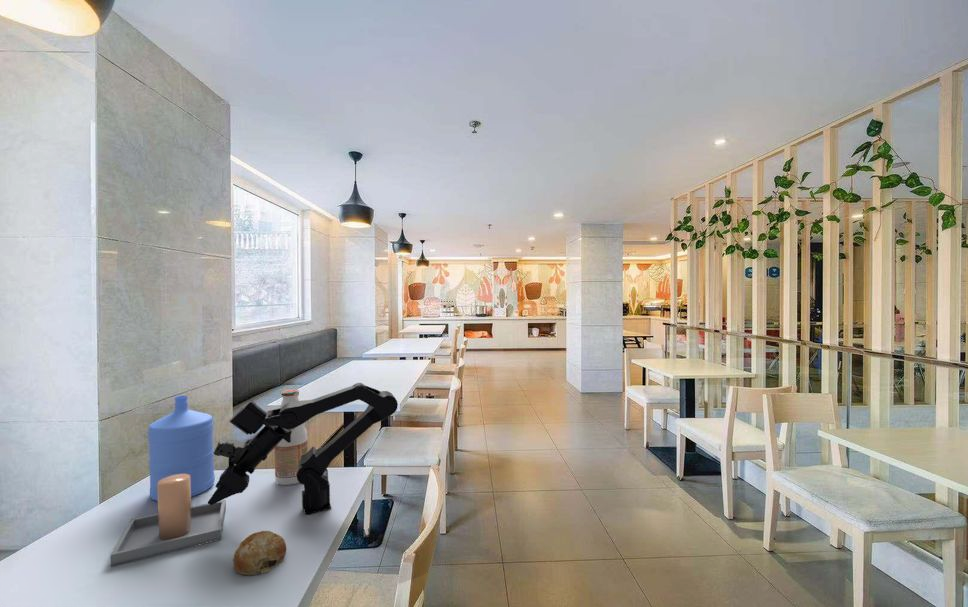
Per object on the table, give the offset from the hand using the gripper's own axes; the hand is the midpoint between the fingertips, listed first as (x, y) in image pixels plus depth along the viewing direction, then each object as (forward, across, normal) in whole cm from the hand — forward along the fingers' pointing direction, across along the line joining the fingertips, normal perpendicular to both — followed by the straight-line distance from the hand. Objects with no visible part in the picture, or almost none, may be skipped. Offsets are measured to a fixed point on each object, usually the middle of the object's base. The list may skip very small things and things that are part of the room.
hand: (213, 495), depth 104 cm
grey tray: (+11, 0, 0) cm, 11 cm away
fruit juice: (-6, -21, +18) cm, 29 cm away
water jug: (+15, -27, -3) cm, 31 cm away
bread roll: (-2, +20, +14) cm, 24 cm away
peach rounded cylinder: (+11, 0, 0) cm, 11 cm away
